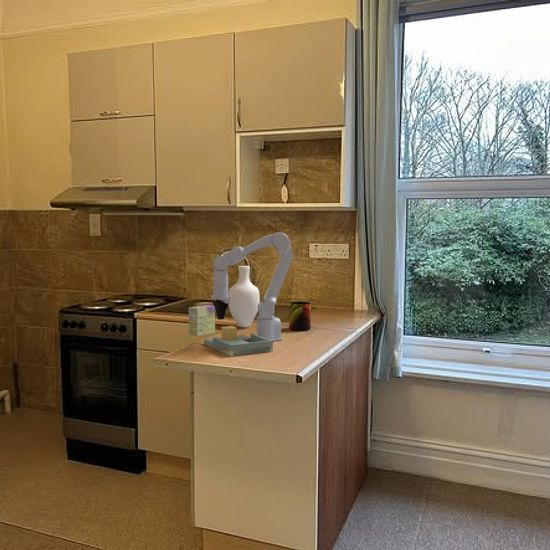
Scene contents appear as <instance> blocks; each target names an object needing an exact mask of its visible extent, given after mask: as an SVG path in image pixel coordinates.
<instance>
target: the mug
mask: <svg viewBox="0 0 550 550" xmlns="http://www.w3.org/2000/svg"><path fill="white" fill-rule="evenodd" d="M311 304H312V303H311V302H308V301H291V302H289V305H288V312H289V313H288V330H289V331H291V332H299V331H302V332H309V331H308V330H310V331H311V318H312V317H311V313H312V311H311V309H312V307H311V306H312V305H311Z"/></svg>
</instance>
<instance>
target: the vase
mask: <svg viewBox="0 0 550 550" xmlns="http://www.w3.org/2000/svg"><path fill="white" fill-rule="evenodd" d="M250 267H251V266H249V265H238V268H237V269H238V280H237V282H236V283H235V284H233V285H232V286H231V287H230V288H229V289H228V297H229V298H231V303H229V305H228V307H229V312H230V314H231V315H232V318H233V320H234V321H235V324H236V325H237V327H239V328H241V329H242V328H243V329H245V328H246V329H247V328H249V327H250V326H251V325H252V323H253V321H254V319H255V317H257V316H256V315H257V313H258V304H259V303H260V302H261V301H260V299H261V298H260V290H259V288H258V287H257V286H256V285H254V284H253V283H252V282H251V281H250V276H249V275H250Z"/></svg>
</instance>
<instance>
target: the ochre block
mask: <svg viewBox="0 0 550 550" xmlns="http://www.w3.org/2000/svg"><path fill="white" fill-rule="evenodd" d="M237 335H238V328H237V327H236V326H233V325H228V326H221V337H222V339H225V340H233V339H237Z"/></svg>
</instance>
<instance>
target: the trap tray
mask: <svg viewBox="0 0 550 550" xmlns="http://www.w3.org/2000/svg"><path fill="white" fill-rule="evenodd" d="M203 340H204V341H203V343H204V345H206V346H208V347H210V348H212V349H215V350H217V351H218V352H221V353H223V354H225V355H227V356H229V357H239V356H246V355H253V354H262V353H273V349H274V347H273V346H274V345H273V344H274V341H272V340H269V339H267V338H264V337H261V336H258V335H257V333H256V334H255V333H250V336H248V335H244V334H239V335H238V334H237V339H233V340H225V339H222V336H218V337H217V336H214V337H213V336H212V337H210V338H209V337H207V338H204V339H203Z"/></svg>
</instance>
